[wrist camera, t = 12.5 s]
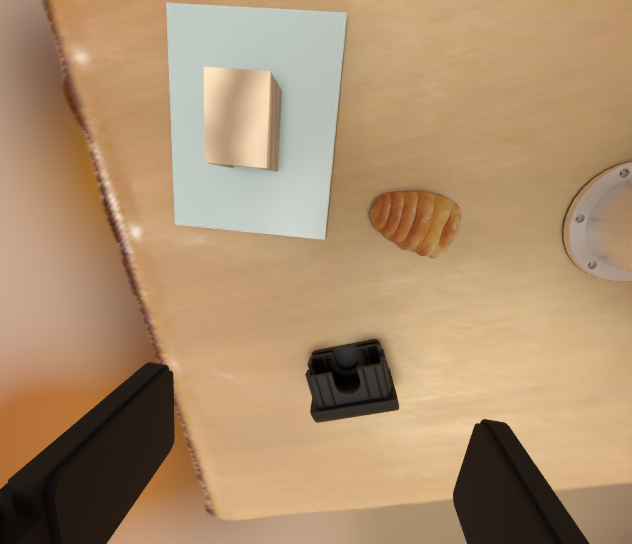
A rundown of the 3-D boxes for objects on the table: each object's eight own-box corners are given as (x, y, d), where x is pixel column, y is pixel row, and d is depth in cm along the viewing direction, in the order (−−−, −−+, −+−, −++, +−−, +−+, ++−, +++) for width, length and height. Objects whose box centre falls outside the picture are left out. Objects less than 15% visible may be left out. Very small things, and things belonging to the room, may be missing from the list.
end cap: (320, 396, 41) (316, 435, 34) (307, 351, 39) (300, 383, 33) (392, 384, 39) (403, 422, 33) (382, 337, 38) (390, 367, 31)
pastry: (360, 235, 35) (362, 239, 31) (379, 177, 33) (384, 175, 29) (436, 258, 35) (448, 265, 31) (460, 202, 33) (475, 202, 29)
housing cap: (281, 90, 30) (270, 71, 26) (277, 171, 33) (266, 167, 28) (225, 86, 31) (203, 66, 26) (224, 167, 33) (204, 162, 28)
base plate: (346, 18, 29) (347, -5, 26) (325, 238, 35) (323, 243, 32) (171, 8, 30) (150, -15, 27) (179, 223, 36) (162, 226, 33)
